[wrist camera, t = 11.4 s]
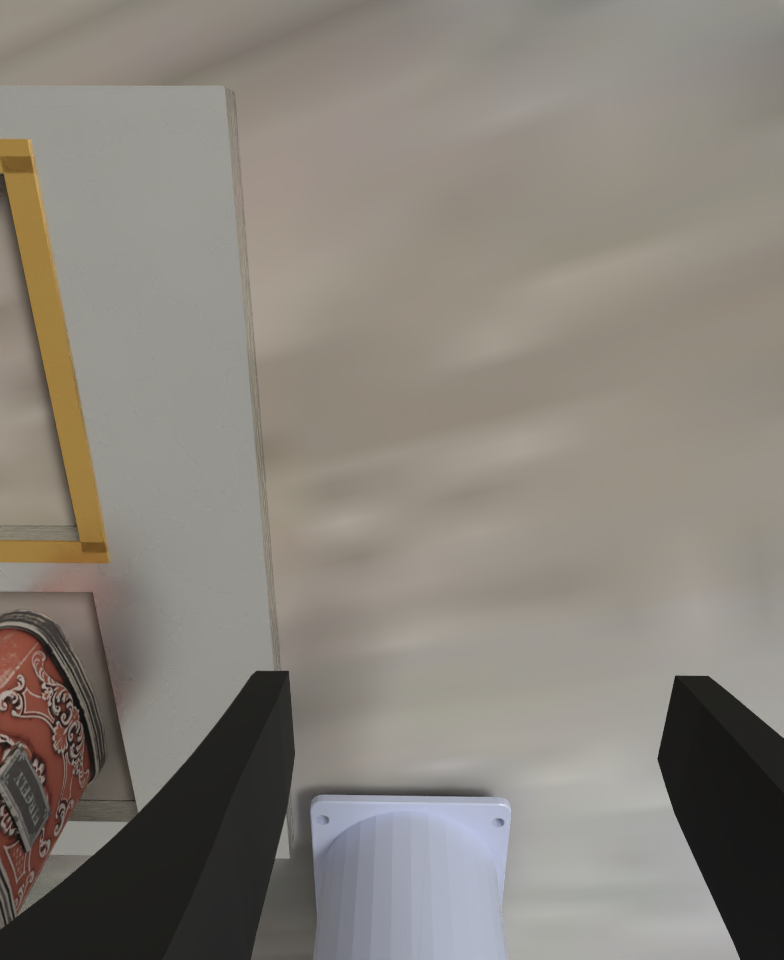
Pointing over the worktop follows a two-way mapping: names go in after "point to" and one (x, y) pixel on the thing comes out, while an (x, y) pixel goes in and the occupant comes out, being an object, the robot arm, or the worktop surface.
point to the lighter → (40, 747)
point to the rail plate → (146, 408)
